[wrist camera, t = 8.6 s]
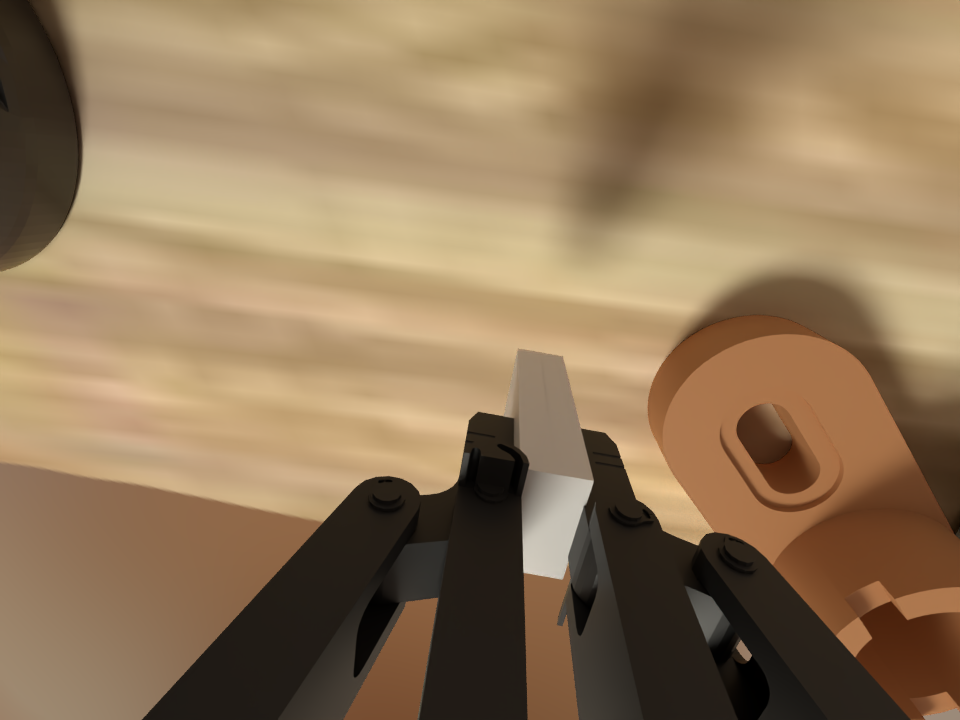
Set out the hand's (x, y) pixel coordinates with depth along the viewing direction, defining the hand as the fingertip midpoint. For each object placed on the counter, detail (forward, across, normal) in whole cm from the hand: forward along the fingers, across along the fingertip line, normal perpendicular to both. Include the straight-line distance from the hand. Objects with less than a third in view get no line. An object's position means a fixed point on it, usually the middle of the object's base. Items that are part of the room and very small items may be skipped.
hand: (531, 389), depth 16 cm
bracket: (+6, +14, -5) cm, 16 cm away
